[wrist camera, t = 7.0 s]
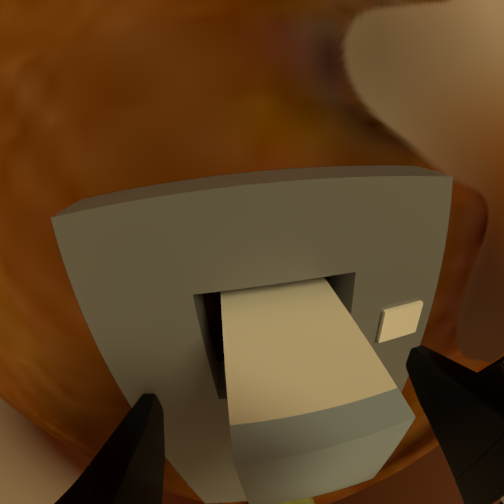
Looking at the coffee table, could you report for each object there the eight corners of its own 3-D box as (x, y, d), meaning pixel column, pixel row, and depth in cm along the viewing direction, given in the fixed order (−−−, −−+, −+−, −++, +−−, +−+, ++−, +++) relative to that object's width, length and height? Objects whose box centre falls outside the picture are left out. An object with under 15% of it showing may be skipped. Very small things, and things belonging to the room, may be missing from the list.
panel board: (415, 165, 11) (456, 177, 8) (348, 457, 21) (356, 478, 19) (81, 199, 10) (47, 219, 7) (204, 482, 20) (205, 505, 18)
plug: (314, 263, 12) (415, 417, 5) (311, 336, 14) (373, 478, 6) (219, 275, 12) (233, 463, 4) (230, 348, 13) (250, 507, 6)
